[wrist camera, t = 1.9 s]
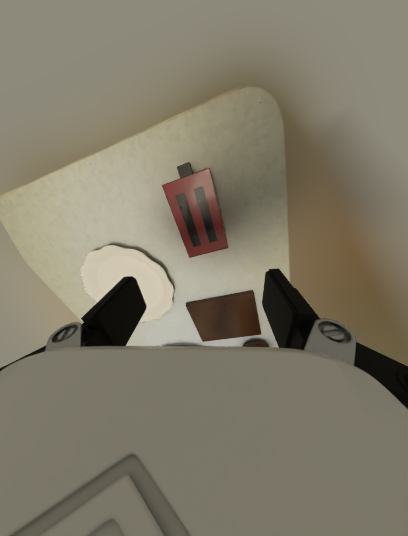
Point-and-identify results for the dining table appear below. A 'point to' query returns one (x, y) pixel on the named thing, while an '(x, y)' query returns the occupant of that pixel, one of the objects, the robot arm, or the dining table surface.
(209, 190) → the toaster
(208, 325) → the board
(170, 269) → the dining table surface
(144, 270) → the plate
